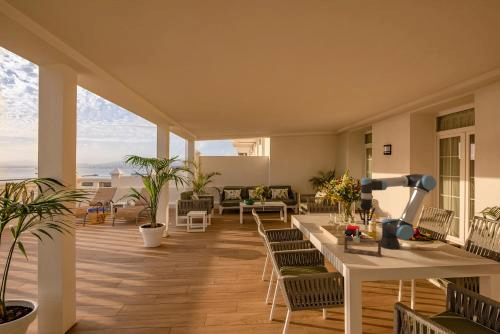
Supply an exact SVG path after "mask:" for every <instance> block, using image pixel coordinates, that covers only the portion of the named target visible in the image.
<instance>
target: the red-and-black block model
mask: <svg viewBox="0 0 500 334" xmlns="http://www.w3.org/2000/svg"><path fill="white" fill-rule="evenodd" d="M356 229H358V237H360V236H359V235H361V234H362V233H363V232H362V230H360V225H353V224H352V225H351V224H350V225H349V224H348V225H347V227H346V229H344V235H345V234H346V235H345V236H351V235H352V234H353V237H354V236H356ZM362 235H363V234H362ZM362 235H361V236H362ZM353 237H352V238H353Z"/></svg>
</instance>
